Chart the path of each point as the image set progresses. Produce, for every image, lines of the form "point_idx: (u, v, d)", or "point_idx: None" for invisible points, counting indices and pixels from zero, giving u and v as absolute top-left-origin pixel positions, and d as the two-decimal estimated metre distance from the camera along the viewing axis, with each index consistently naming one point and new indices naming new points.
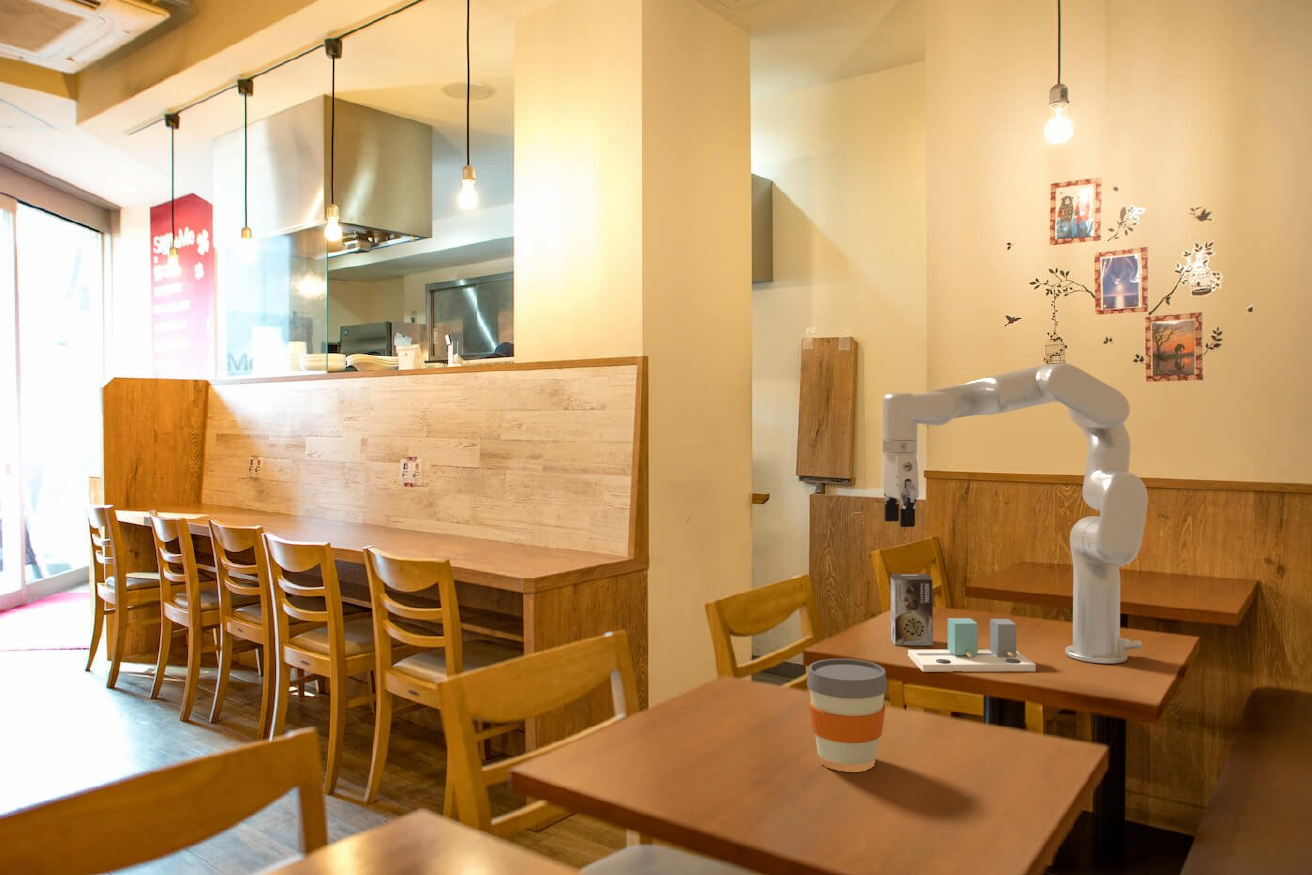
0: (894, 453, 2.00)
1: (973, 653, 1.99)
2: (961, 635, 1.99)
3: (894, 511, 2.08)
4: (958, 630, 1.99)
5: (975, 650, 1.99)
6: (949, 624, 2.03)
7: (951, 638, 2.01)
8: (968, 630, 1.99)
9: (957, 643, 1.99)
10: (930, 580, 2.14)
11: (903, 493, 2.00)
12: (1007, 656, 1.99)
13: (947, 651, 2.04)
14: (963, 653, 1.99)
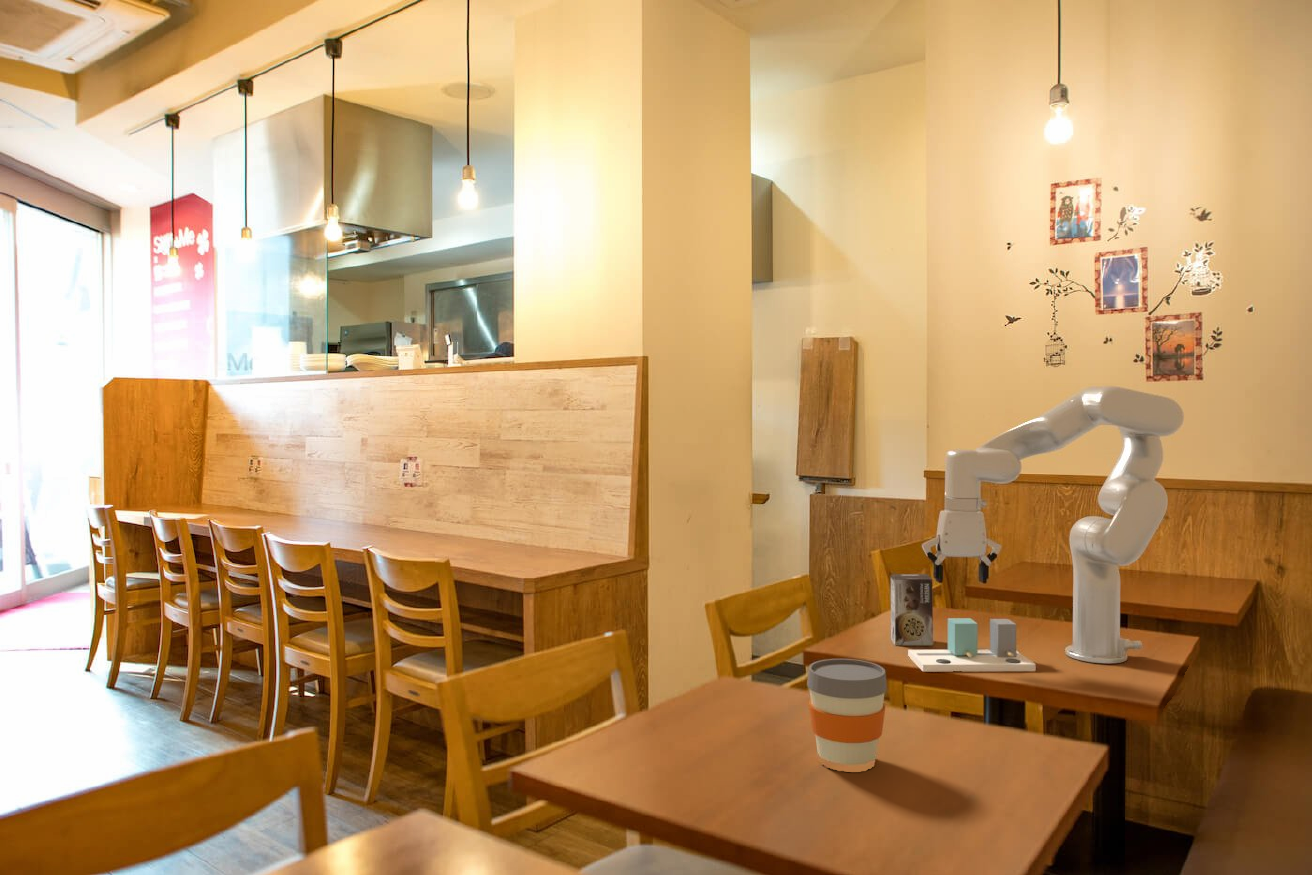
0: (979, 511, 1.98)
1: (973, 653, 1.99)
2: (961, 635, 1.99)
3: None
4: (958, 630, 1.99)
5: (975, 650, 1.99)
6: (949, 624, 2.03)
7: (951, 638, 2.01)
8: (968, 630, 1.99)
9: (957, 643, 1.99)
10: (930, 580, 2.14)
11: None
12: (1007, 656, 1.99)
13: (947, 651, 2.04)
14: (963, 653, 1.99)
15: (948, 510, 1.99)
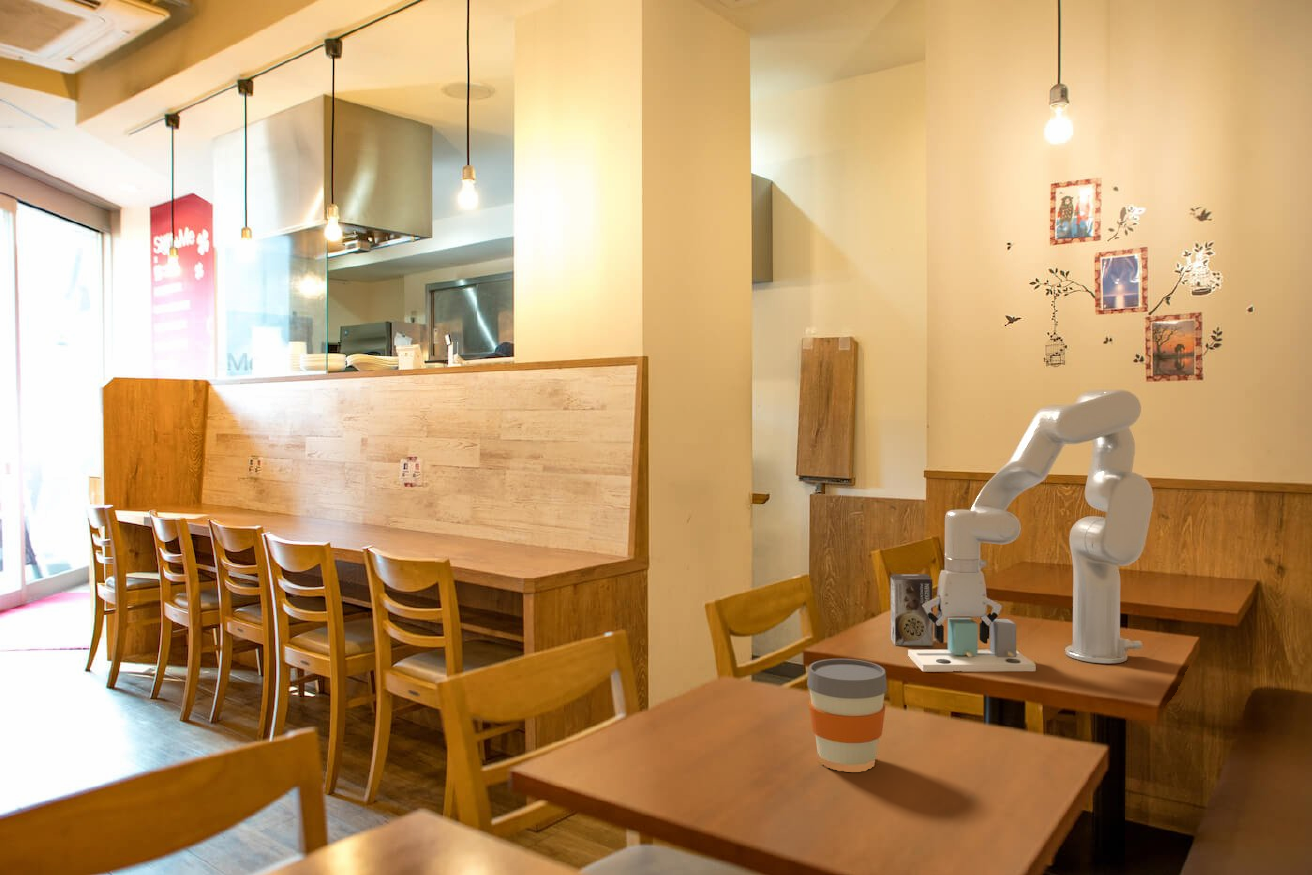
0: (979, 572, 1.99)
1: (973, 653, 1.99)
2: (961, 635, 1.99)
3: None
4: (958, 630, 1.99)
5: (975, 650, 1.99)
6: (949, 624, 2.03)
7: (951, 638, 2.01)
8: (968, 630, 1.99)
9: (957, 643, 1.99)
10: (930, 580, 2.14)
11: None
12: (1007, 656, 1.99)
13: (947, 651, 2.04)
14: (963, 653, 1.99)
15: (948, 571, 2.00)
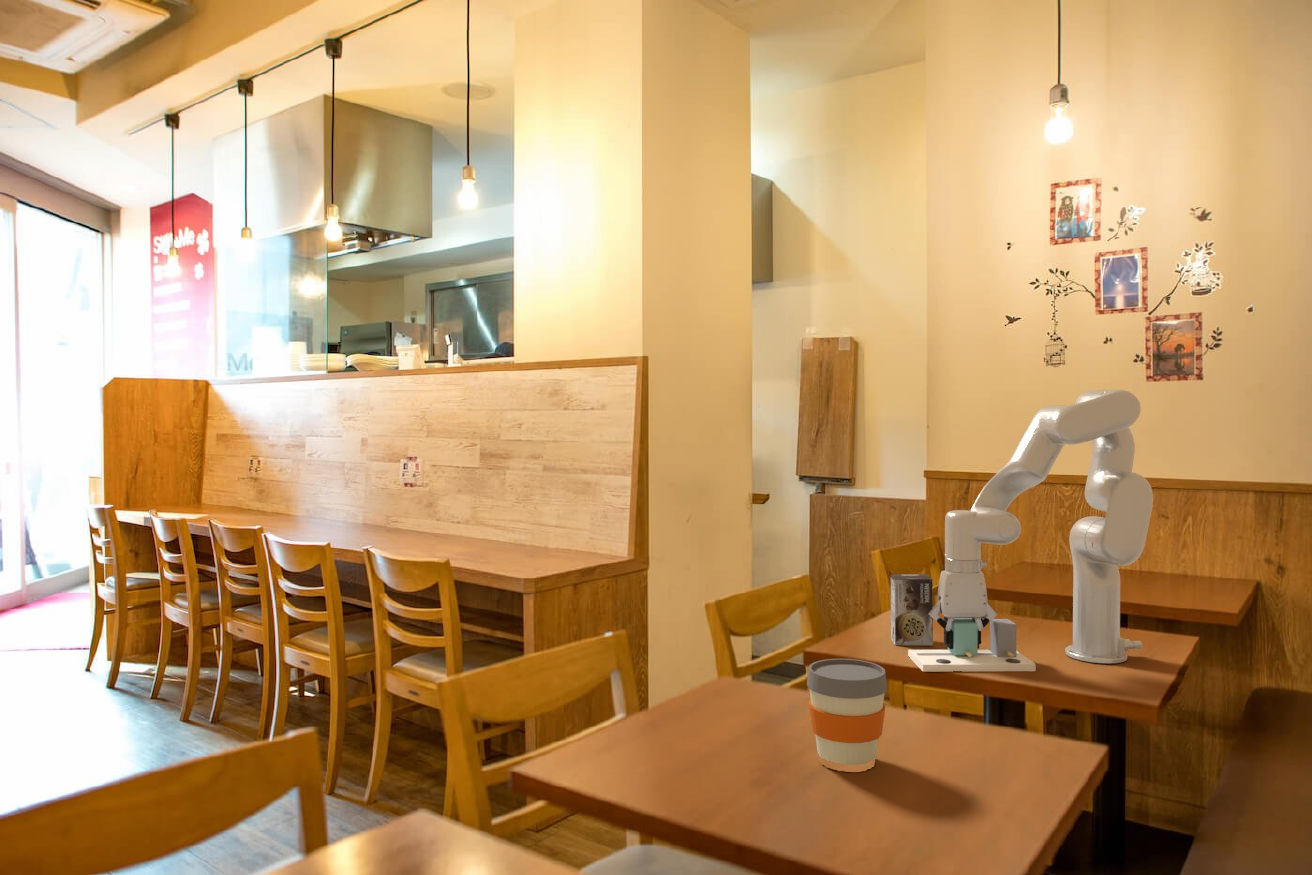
0: (979, 572, 1.99)
1: (973, 653, 1.99)
2: (961, 635, 1.99)
3: None
4: (958, 630, 1.99)
5: (975, 650, 1.99)
6: None
7: None
8: (968, 630, 1.99)
9: (957, 643, 1.99)
10: (930, 580, 2.14)
11: None
12: (1007, 656, 1.99)
13: (947, 651, 2.04)
14: (963, 653, 1.99)
15: (948, 572, 2.00)
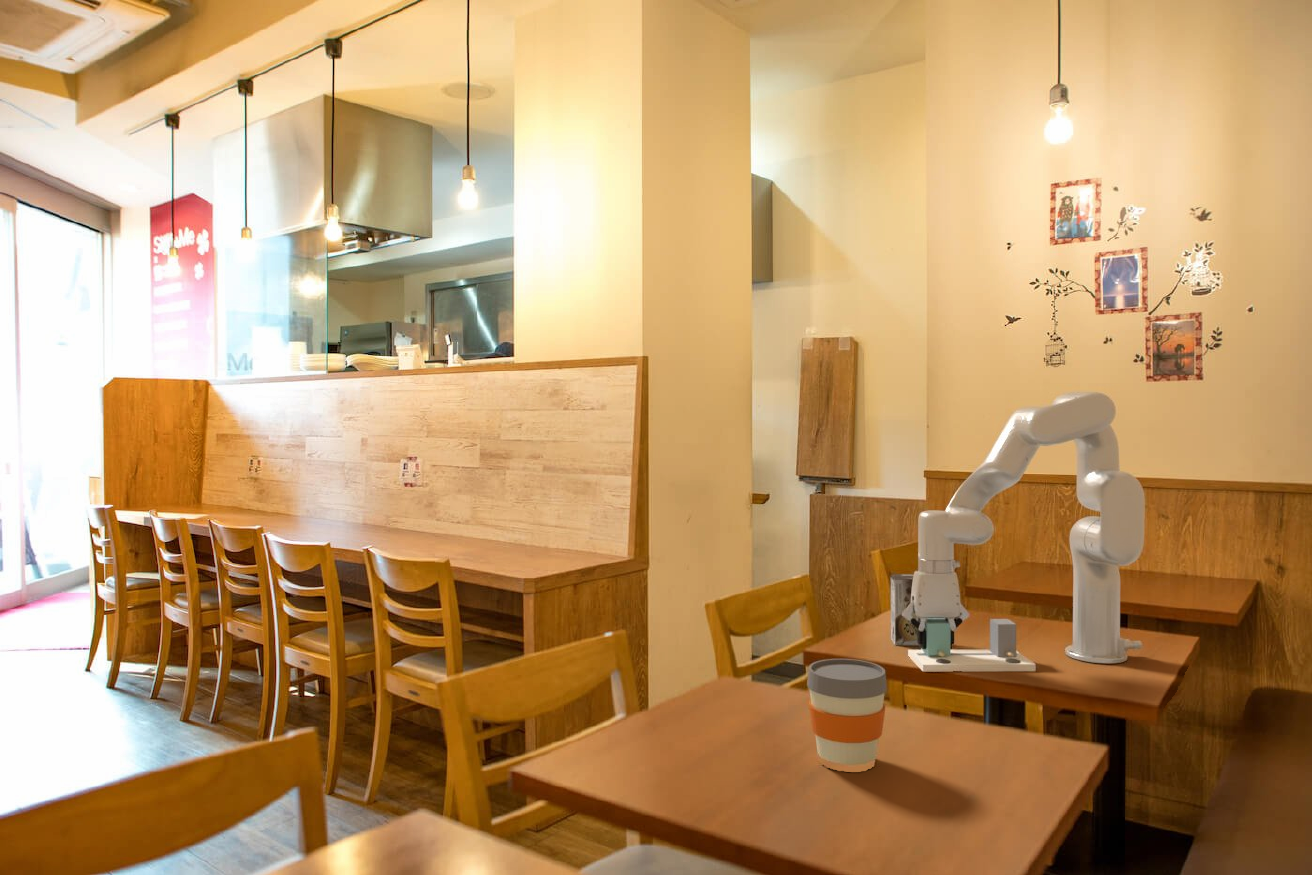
0: (952, 573, 1.99)
1: (946, 653, 1.99)
2: (934, 635, 1.99)
3: None
4: (931, 630, 1.99)
5: (948, 650, 1.99)
6: None
7: None
8: (941, 631, 1.99)
9: (930, 643, 1.99)
10: None
11: None
12: (1007, 656, 1.99)
13: None
14: (936, 653, 1.99)
15: (921, 572, 2.00)
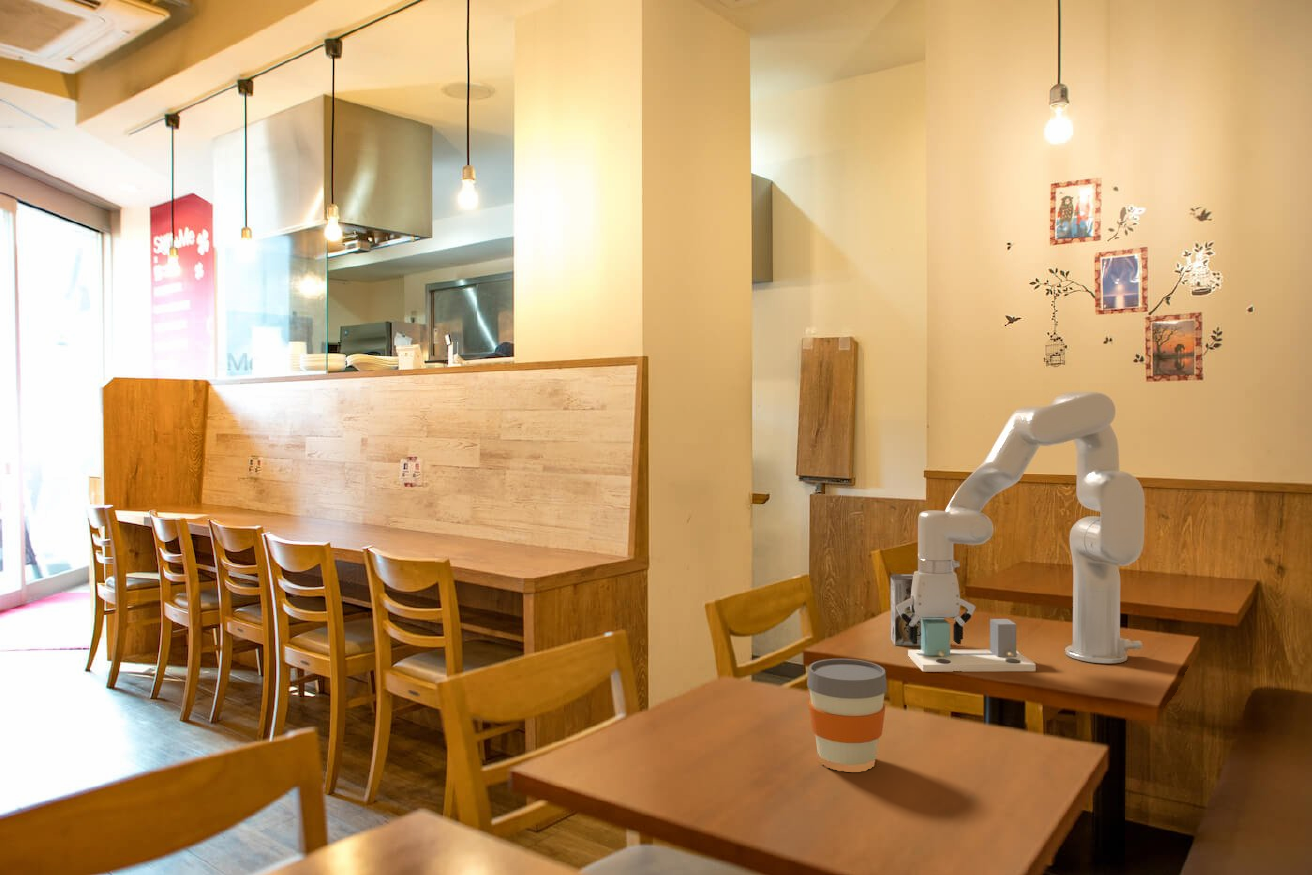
0: (952, 573, 1.99)
1: (946, 653, 1.99)
2: (934, 635, 1.99)
3: None
4: (931, 630, 1.99)
5: (948, 650, 1.99)
6: (922, 624, 2.03)
7: (924, 638, 2.01)
8: (941, 631, 1.99)
9: (930, 643, 1.99)
10: None
11: None
12: (1007, 656, 1.99)
13: None
14: (936, 653, 1.99)
15: (921, 572, 2.00)
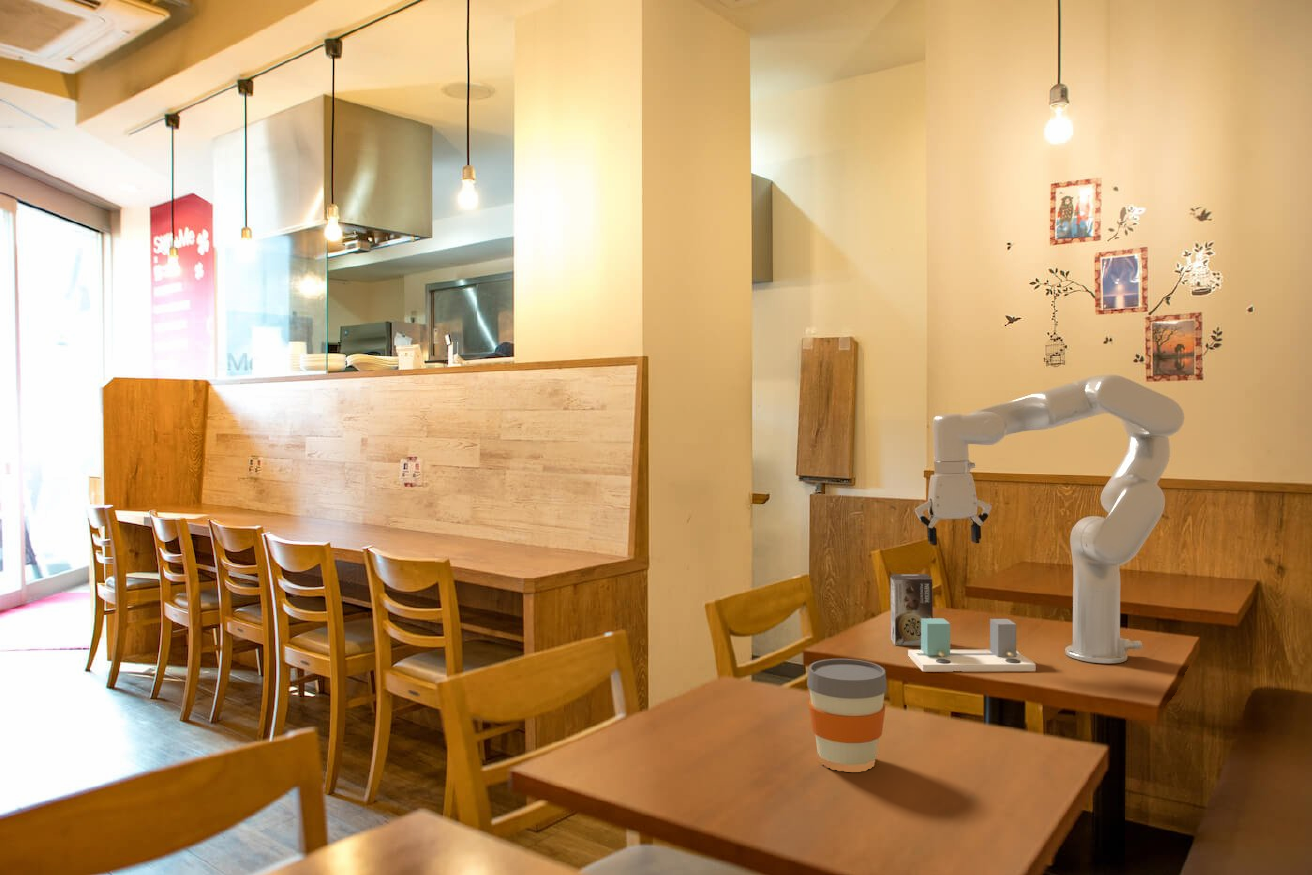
0: (968, 473, 2.03)
1: (946, 653, 1.99)
2: (934, 635, 1.99)
3: None
4: (931, 630, 1.99)
5: (948, 650, 1.99)
6: (922, 624, 2.03)
7: (924, 638, 2.01)
8: (941, 631, 1.99)
9: (930, 643, 1.99)
10: (930, 580, 2.14)
11: None
12: (1007, 656, 1.99)
13: None
14: (936, 653, 1.99)
15: (938, 474, 2.04)
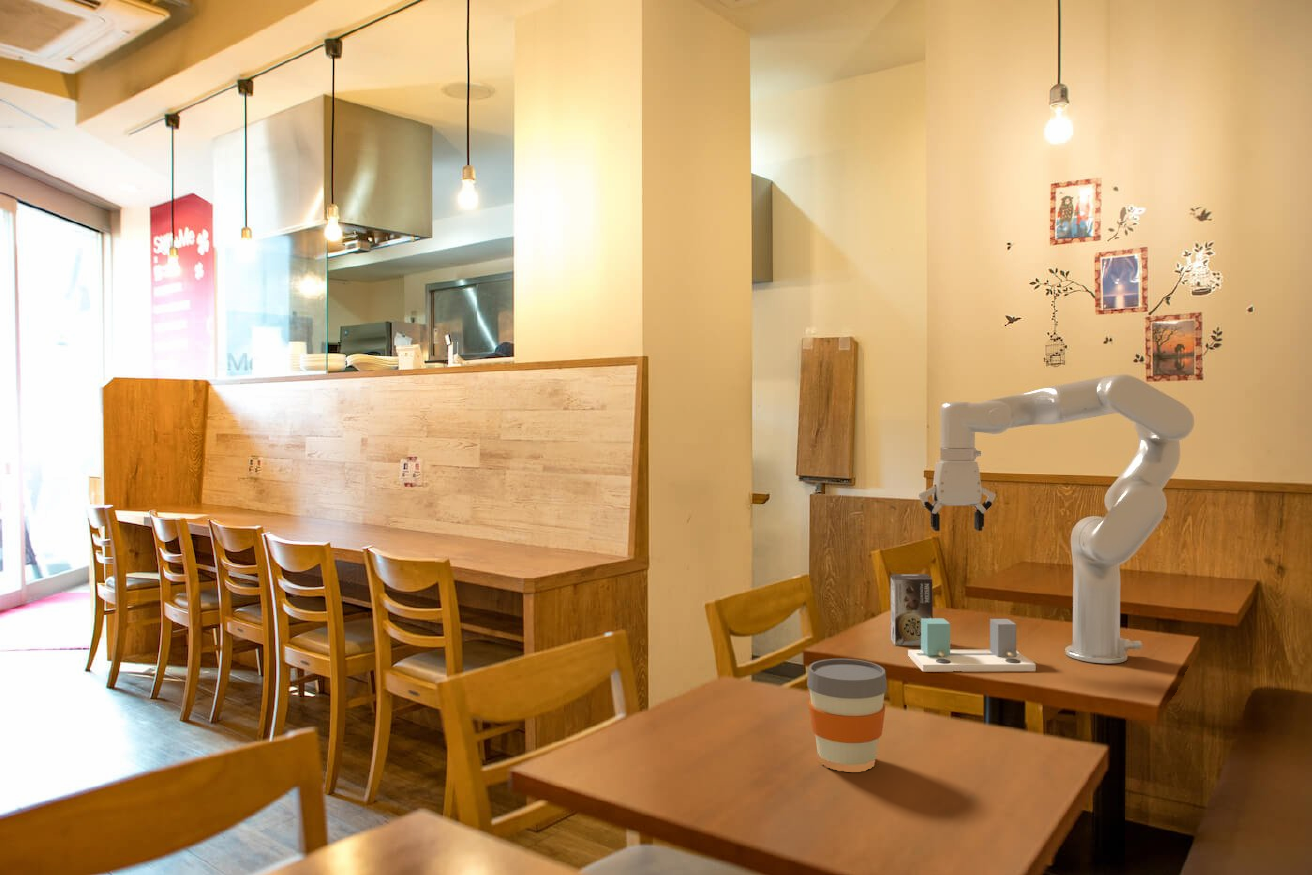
0: (973, 460, 2.05)
1: (946, 653, 1.99)
2: (934, 635, 1.99)
3: None
4: (931, 630, 1.99)
5: (948, 650, 1.99)
6: (922, 624, 2.03)
7: (924, 638, 2.01)
8: (941, 631, 1.99)
9: (930, 643, 1.99)
10: (930, 580, 2.14)
11: None
12: (1007, 656, 1.99)
13: None
14: (936, 653, 1.99)
15: (944, 460, 2.06)
